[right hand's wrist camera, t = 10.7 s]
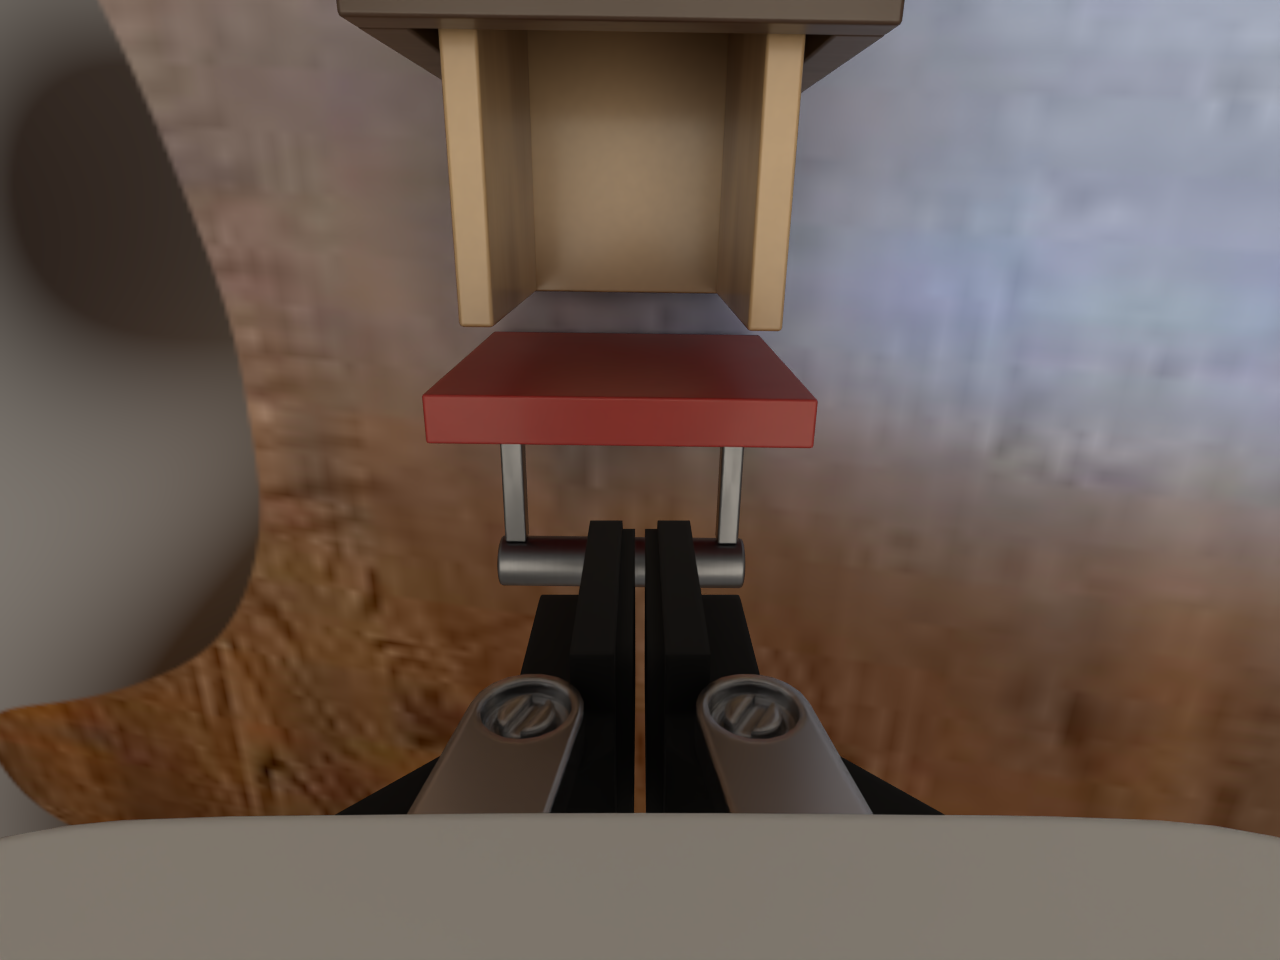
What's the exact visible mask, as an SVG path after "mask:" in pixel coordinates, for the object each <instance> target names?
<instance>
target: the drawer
mask: <svg viewBox="0 0 1280 960" xmlns="http://www.w3.org/2000/svg"><path fill="white" fill-rule="evenodd" d="M438 35H439V49H440V62H441V76H442V90H443V104H444V118H445V132H446V146H447V159H448V173H449V187H450V201H451V215H452V229H453V242H454V256H455V270H456V284H457V298H458V312H459V323H460V325H461V326H463V327H492V326H494V325H495V324H496V323H497V322H499V321H500V320H501V319H502V318H503V317H505V316H506V315H507V314H508V313H509V312H511V311H512V310H513V309H514V308H515V307H517V306H518V305H519V304H520V303H521V302H523V301H524V300H525V299H526V298H527V297H529V296H530V295H531V294H532V293H533V292H535V291H574V292H646V293H717V294H718V295H719V296H720V297H721V299H722V300H723V301H724V302H725V303H726V304H727V306H728V307H729V308H730V309H731V310H732V311H733V313H734V314H735V315H736V316H737V317H738V318H739V319H740V321H741V322H742V323H743V324H744V325H745V326H746V328H747V329H748V330H750V331H780V330H781V329H782V323H783V310H784V298H785V286H786V273H787V261H788V248H789V236H790V224H791V211H792V199H793V186H794V174H795V162H796V149H797V137H798V124H799V112H800V100H801V87H802V75H803V62H804V50H805V38H806V34H759V33H693V32H628V31H563V30H498V29H438ZM422 400H423V411H424V422H425V432H426V441H427V443H455V444H500V449H501V467H502V485H503V502H504V520H505V536H503V537H502V538H501V540H500V543H499V549H498V561H497V567H498V578H499V581H500V584H502V585H522V586H580V583H581V576H582V570H583V564H584V557H585V551H586V545H587V538H588V537H585V536H528V534H529V526H528V503H527V480H526V458H525V444H533V445H611V446H689V447H720V461H719V479H718V498H717V516H716V538H693V545H694V551H695V557H696V564H697V570H698V576H699V583H700V588H741V587H742V585H743V583H744V577H745V551H744V544H743V541H742V540H741V539H739V538H738V530H739V515H740V500H741V485H742V470H743V455H744V447H768V448H812V447H813V444H814V434H815V424H816V414H817V404H818V402H817V399H816V398H815V397H814V396H813V395H812V394H811V393H810V392H809V391H808V389H807V388H806V387H805V386H804V385H803V384H802V383H801V382H800V381H799V379H798V378H797V377H796V376H795V375H794V374H793V373H792V372H791V371H790V369H789V368H788V367H787V366H786V365H785V364H784V363H783V362H782V361H781V359H780V358H779V357H778V356H777V355H776V354H775V353H774V352H773V351H772V349H771V348H770V347H769V346H768V345H767V344H766V343H765V342H764V341H763V339H762V338H761V337H760V336H758V335H697V334H623V333H549V332H494V333H493V334H491V335H490V336H489V337H488V338H487V339H486V340H485V341H484V342H482V343H481V344H480V345H479V346H478V347H477V348H476V349H474V350H473V351H472V352H471V353H470V354H469V355H468V356H466V357H465V358H464V359H463V360H462V361H461V362H460V363H459V364H457V365H456V366H455V367H454V368H453V369H452V370H451V371H449V372H448V373H447V374H446V375H445V376H444V377H443V378H441V379H440V380H439V381H438V382H437V383H436V384H435V385H434V386H432V387H431V388H430V389H429V390H428V391H427V392H426V393H424V394H423V396H422ZM635 587H645V537H635Z"/></svg>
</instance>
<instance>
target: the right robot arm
mask: <svg viewBox="0 0 1280 960" xmlns="http://www.w3.org/2000/svg"><path fill="white" fill-rule="evenodd" d="M634 758H635V529H623V524H622V521H590V526H589V532H588V538H587V545H586V551H585V557H584V564H583V570H582V576H581V583H580V589H579V595H541V597H540V600H539V603H538V607H537V611H536V615H535V619H534V623H533V627H532V631H531V635H530V639H529V643H528V647H527V651H526V655H525V658H524V662H523V666H522V670H521V674H520V675H518V676H513V677H508V678H505V679H503V680H500V681H498V682H495V683H493V684H491V685H490V686H488V687H487V688H485V689H484V690H482V691H481V692H480V693H479V694H478V695H477V696H476V697H475V699H474V700H473V701H472V702H471V704H470V705H469V707H468V709H467V711H466V712H465V714H464V716H463V718H462V719H461V721H460V723H459V725H458V726H457V728H456V730H455V731H454V733H453V735H452V737H451V738H450V740H449V742H448V744H447V745H446V747H445V749H444V751H443V752H442V754H441V756H439V757H438V758H436V759H434V760H432V761H431V762H429V763H427V764H425V765H423V766H422V767H420V768H418V769H416V770H414V771H413V772H411V773H409V774H407V775H406V776H404V777H402V778H400V779H398V780H397V781H395V782H393V783H391V784H389V785H388V786H386V787H384V788H382V789H381V790H379V791H377V792H375V793H373V794H372V795H370V796H368V797H366V798H364V799H363V800H361V801H359V802H357V803H356V804H354V805H352V806H350V807H348V808H347V809H345V810H343V811H341V812H339V813H338V814H336V815H324V816H230V817H201V818H174V819H146V820H120V821H110V822H100V823H90V824H80V825H70V826H62V827H57V828H51V829H45V830H40V831H34V832H28V833H23V834H17V835H12V836H6V837H2V838H0V960H1280V838H1278V837H1274V836H1268V835H1263V834H1257V833H1252V832H1246V831H1240V830H1235V829H1229V828H1223V827H1218V826H1210V825H1200V824H1190V823H1180V822H1170V821H1160V820H1134V819H1106V818H1079V817H1051V816H972V815H944V814H942V813H941V812H939V811H937V810H935V809H933V808H932V807H930V806H928V805H926V804H924V803H923V802H921V801H919V800H917V799H916V798H914V797H912V796H910V795H908V794H907V793H905V792H903V791H901V790H899V789H898V788H896V787H894V786H892V785H891V784H889V783H887V782H885V781H883V780H882V779H880V778H878V777H876V776H874V775H873V774H871V773H869V772H867V771H866V770H864V769H862V768H860V767H858V766H857V765H855V764H853V763H851V762H849V761H848V760H846V759H844V758H842V757H841V756H839V754H838V752H837V751H836V749H835V747H834V745H833V744H832V742H831V740H830V738H829V737H828V735H827V733H826V731H825V730H824V728H823V726H822V725H821V723H820V721H819V719H818V718H817V716H816V714H815V712H814V711H813V709H812V707H811V705H810V704H809V702H808V701H807V700H806V699H805V697H804V696H803V695H802V694H801V693H800V692H799V691H798V690H796V689H795V688H793V687H792V686H790V685H789V684H787V683H785V682H782V681H780V680H777V679H775V678H772V677H767V676H762V675H760V674H759V670H758V666H757V662H756V658H755V655H754V651H753V647H752V643H751V639H750V635H749V631H748V627H747V623H746V619H745V615H744V611H743V607H742V603H741V600H740V597H739V595H701V589H700V583H699V576H698V570H697V564H696V557H695V551H694V545H693V538H692V532H691V526H690V521H658V524H657V529H645V758H646V813H634Z"/></svg>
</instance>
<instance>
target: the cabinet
mask: <svg viewBox="0 0 1280 960" xmlns="http://www.w3.org/2000/svg"><path fill="white" fill-rule="evenodd" d="M336 1H337V10H338V13H339V15H340V16H341V17H343V18H344V19H346V20H347V21H349V22H351V23H352V24H354V25H355V26H357V27H359V28H360V29H361V30H363V31H364V32H366V33H368V34H369V35H371V36H372V37H374V38H376V39H377V40H379V41H380V42H382V43H384V44H385V45H387V46H388V47H390V48H392V49H393V50H395V51H396V52H398V53H400V54H401V55H403V56H404V57H406V58H408V59H409V60H411V61H413V62H414V63H416V64H417V65H419V66H421V67H422V68H424V69H425V70H427V71H429V72H430V73H432V74H433V75H435V76H437V77H438V78H440V79H441V80H442V76H441V62H440V49H439V35H438V29H498V30H563V31H628V32H693V33H759V34H806V38H805V50H804V62H803V75H802V87H801V93H802V92H803V91H805V90H806V89H807V88H809V87H810V86H812V85H813V84H815V83H816V82H818V81H819V80H821V79H822V78H823V77H825V76H826V75H828V74H829V73H831V72H832V71H834V70H835V69H837V68H838V67H839V66H841V65H842V64H844V63H845V62H847V61H848V60H850V59H851V58H853V57H854V56H855V55H857V54H858V53H860V52H861V51H863V50H864V49H866V48H867V47H869V46H870V45H871V44H873V43H874V42H876V41H877V40H879V39H880V38H882V37H883V36H884V35H885V34H887V33H888V32H890V31H891V30H893V29H894V28H896V27H897V26H898V25H900V24H901V22H902V18H903V9H904V1H905V0H336Z"/></svg>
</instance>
